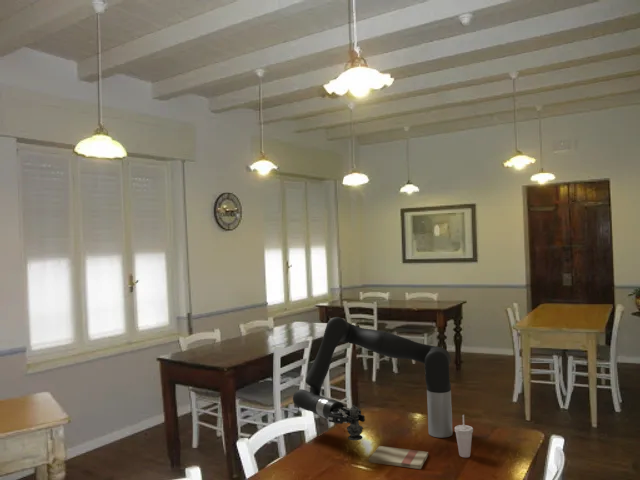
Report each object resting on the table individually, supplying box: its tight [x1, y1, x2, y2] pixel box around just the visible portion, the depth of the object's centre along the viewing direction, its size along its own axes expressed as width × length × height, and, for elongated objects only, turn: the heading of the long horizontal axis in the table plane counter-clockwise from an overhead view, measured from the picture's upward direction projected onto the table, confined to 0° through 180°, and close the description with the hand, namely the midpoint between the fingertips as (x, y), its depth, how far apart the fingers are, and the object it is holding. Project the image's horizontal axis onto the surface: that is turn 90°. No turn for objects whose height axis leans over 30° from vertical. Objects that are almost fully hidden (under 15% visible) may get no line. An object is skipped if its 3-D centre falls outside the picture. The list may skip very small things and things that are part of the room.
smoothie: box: [454, 414, 474, 458], centre depth 190 cm, size 6×6×14 cm
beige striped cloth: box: [368, 445, 429, 470], centre depth 189 cm, size 12×18×1 cm, turn 66°
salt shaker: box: [346, 404, 364, 441], centre depth 195 cm, size 6×6×12 cm
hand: (359, 420), depth 192 cm, fingers closed on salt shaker, 3 cm apart
